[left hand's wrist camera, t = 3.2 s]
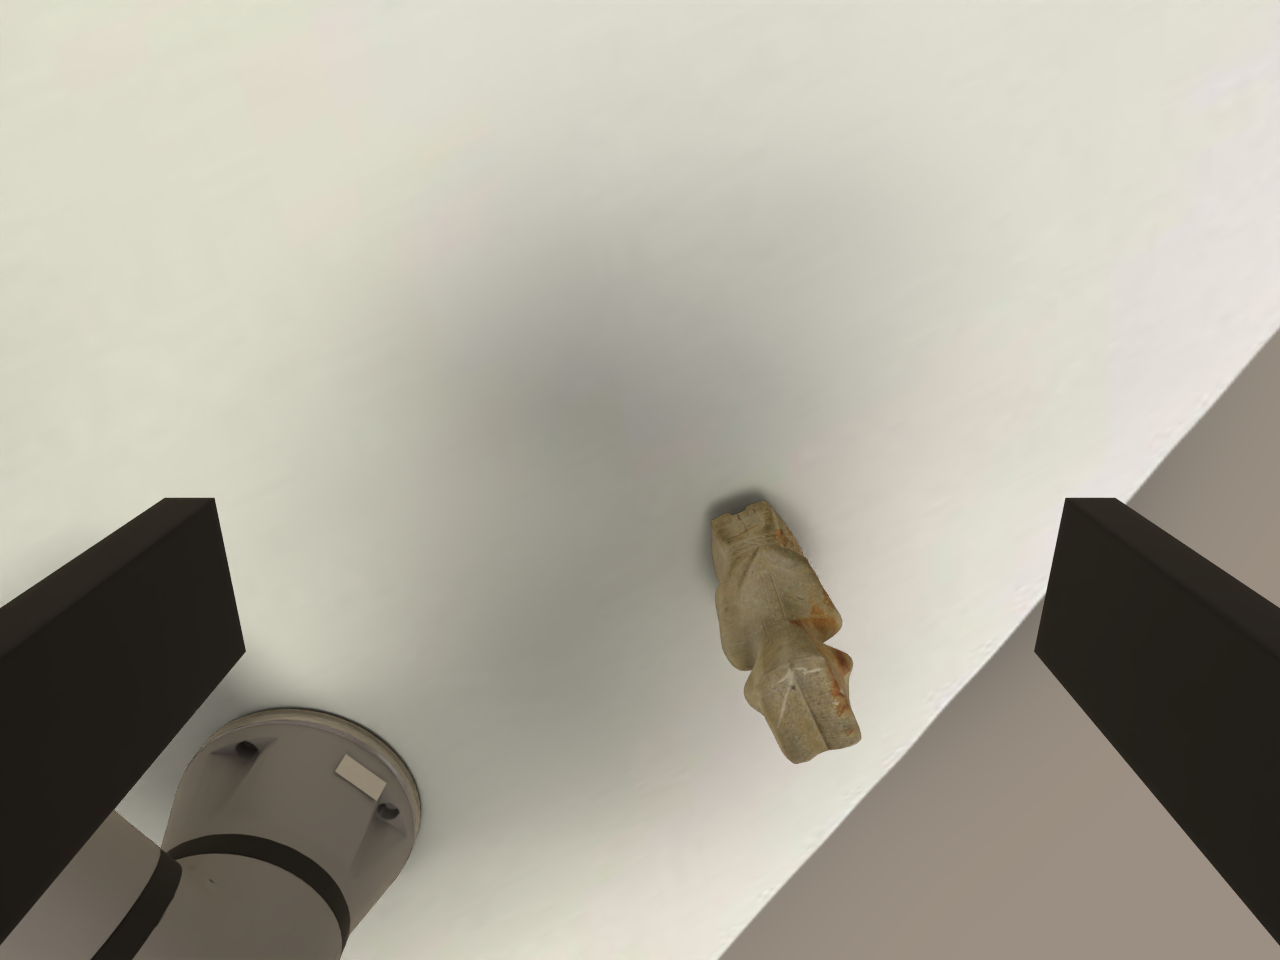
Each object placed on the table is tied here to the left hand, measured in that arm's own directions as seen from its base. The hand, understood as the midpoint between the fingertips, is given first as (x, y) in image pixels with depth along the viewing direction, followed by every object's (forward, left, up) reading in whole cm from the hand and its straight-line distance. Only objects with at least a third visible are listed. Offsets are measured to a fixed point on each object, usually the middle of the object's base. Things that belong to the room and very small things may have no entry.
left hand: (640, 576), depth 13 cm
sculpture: (-9, -13, -31) cm, 35 cm away
